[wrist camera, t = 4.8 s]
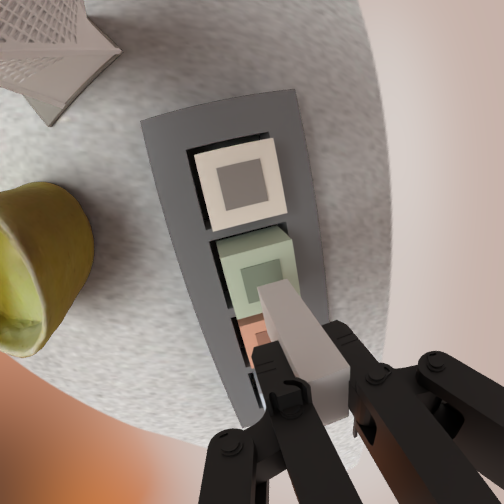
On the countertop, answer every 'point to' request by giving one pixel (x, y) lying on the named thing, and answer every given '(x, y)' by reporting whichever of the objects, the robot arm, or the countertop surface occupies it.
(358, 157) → the countertop surface
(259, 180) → the key ivory
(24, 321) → the mug
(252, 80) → the countertop surface
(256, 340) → the key terracotta
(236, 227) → the keyguard frame
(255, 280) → the key sage
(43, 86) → the skyscraper
